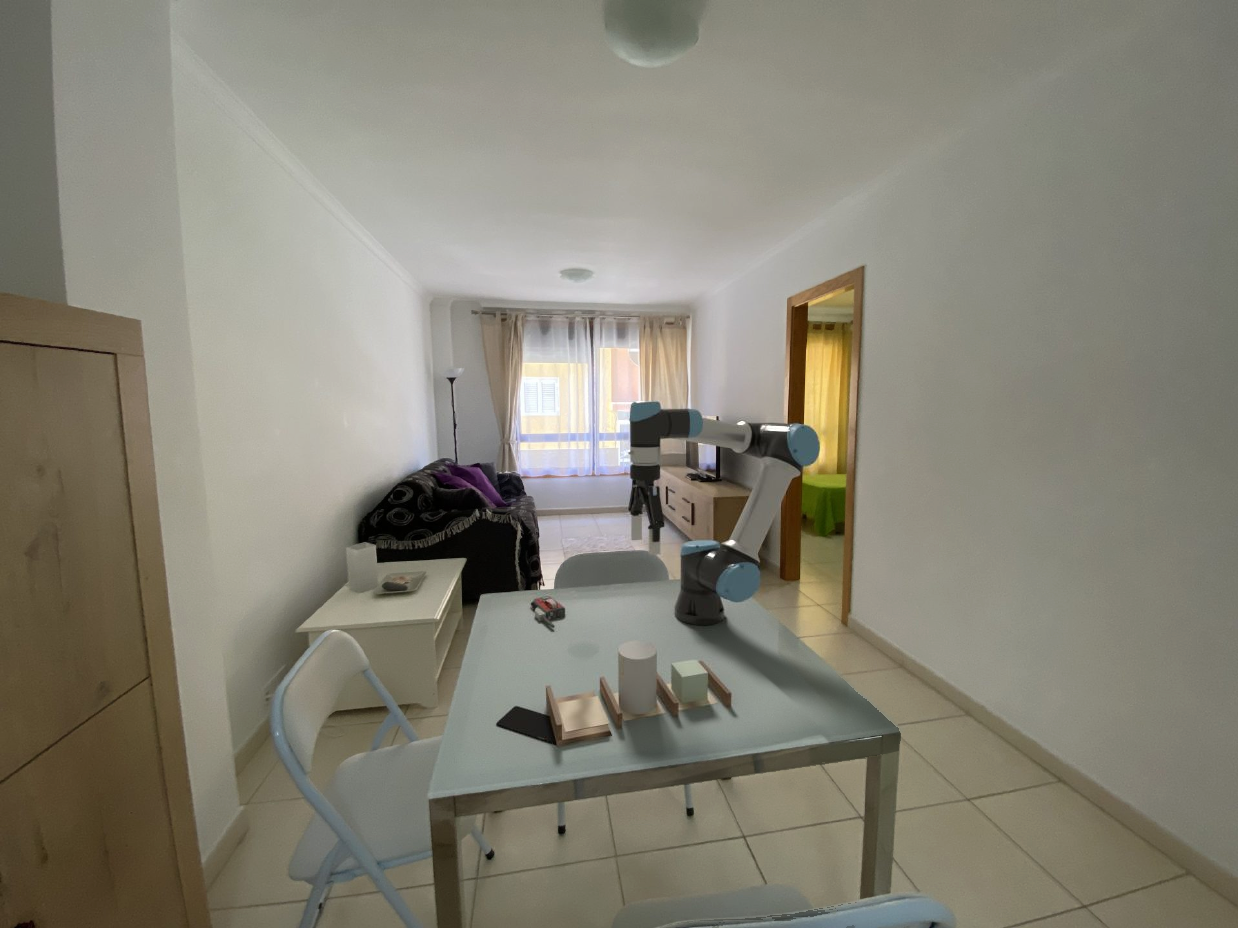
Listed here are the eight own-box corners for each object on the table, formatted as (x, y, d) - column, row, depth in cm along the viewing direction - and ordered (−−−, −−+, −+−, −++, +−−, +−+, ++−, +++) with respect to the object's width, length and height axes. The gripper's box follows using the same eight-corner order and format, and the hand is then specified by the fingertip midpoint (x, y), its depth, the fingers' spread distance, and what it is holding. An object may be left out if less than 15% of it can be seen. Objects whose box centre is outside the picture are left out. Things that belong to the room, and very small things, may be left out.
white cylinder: (625, 689, 114) (625, 638, 112) (660, 695, 111) (660, 643, 110) (613, 709, 106) (612, 655, 105) (650, 717, 103) (650, 661, 102)
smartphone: (557, 744, 97) (494, 723, 103) (557, 748, 97) (494, 727, 103) (575, 722, 103) (515, 704, 110) (575, 726, 103) (515, 708, 110)
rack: (701, 677, 120) (702, 660, 120) (731, 712, 107) (731, 692, 107) (546, 704, 110) (545, 685, 110) (557, 746, 97) (556, 725, 96)
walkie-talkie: (524, 608, 163) (550, 632, 146) (524, 595, 162) (549, 617, 145) (549, 603, 167) (577, 625, 150) (549, 590, 167) (577, 611, 150)
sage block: (695, 684, 116) (696, 659, 115) (707, 698, 110) (707, 672, 109) (671, 688, 114) (671, 663, 113) (681, 703, 108) (682, 676, 107)
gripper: (616, 458, 137) (617, 535, 140) (647, 470, 113) (647, 562, 116) (642, 457, 139) (642, 533, 142) (679, 469, 115) (678, 559, 118)
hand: (645, 546), depth 129 cm, fingers open, 13 cm apart
